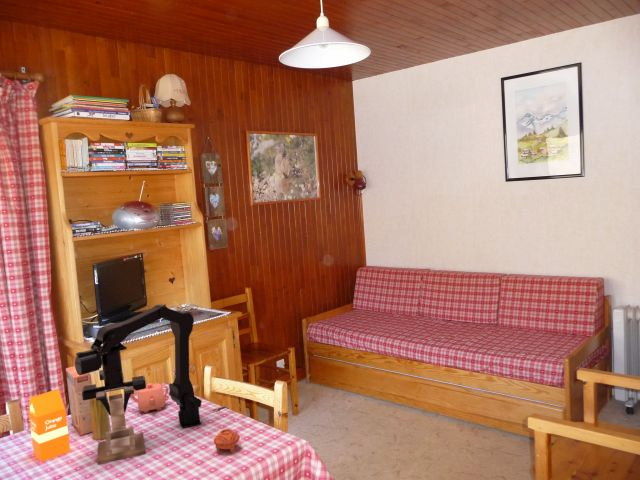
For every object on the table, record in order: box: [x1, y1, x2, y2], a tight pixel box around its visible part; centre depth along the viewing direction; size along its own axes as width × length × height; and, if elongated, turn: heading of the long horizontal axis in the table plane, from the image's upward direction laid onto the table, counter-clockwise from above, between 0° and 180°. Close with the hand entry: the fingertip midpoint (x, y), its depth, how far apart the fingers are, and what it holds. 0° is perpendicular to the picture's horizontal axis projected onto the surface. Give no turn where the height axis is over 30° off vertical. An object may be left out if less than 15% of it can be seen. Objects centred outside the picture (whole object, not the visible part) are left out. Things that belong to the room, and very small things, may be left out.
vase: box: [89, 396, 112, 441], centre depth 186 cm, size 6×6×14 cm
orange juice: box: [27, 388, 71, 462], centre depth 176 cm, size 8×9×20 cm
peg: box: [108, 393, 127, 431], centre depth 175 cm, size 4×4×10 cm
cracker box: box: [65, 365, 93, 436], centre depth 194 cm, size 14×6×21 cm, turn 35°
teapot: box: [130, 382, 170, 414], centre depth 207 cm, size 12×12×10 cm
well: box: [96, 426, 146, 465], centre depth 176 cm, size 14×14×5 cm
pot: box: [213, 428, 241, 453], centre depth 171 cm, size 8×8×7 cm
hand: (117, 413), depth 175 cm, fingers closed on peg, 4 cm apart
